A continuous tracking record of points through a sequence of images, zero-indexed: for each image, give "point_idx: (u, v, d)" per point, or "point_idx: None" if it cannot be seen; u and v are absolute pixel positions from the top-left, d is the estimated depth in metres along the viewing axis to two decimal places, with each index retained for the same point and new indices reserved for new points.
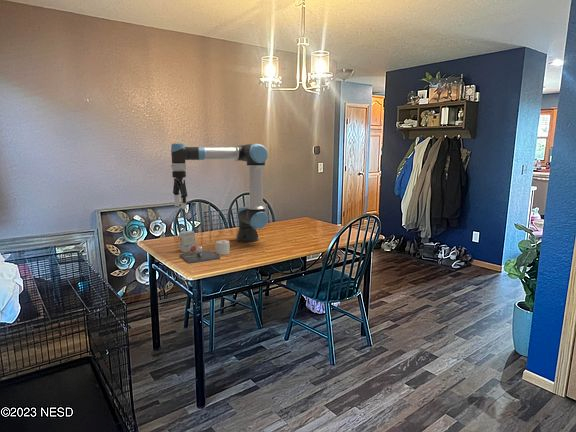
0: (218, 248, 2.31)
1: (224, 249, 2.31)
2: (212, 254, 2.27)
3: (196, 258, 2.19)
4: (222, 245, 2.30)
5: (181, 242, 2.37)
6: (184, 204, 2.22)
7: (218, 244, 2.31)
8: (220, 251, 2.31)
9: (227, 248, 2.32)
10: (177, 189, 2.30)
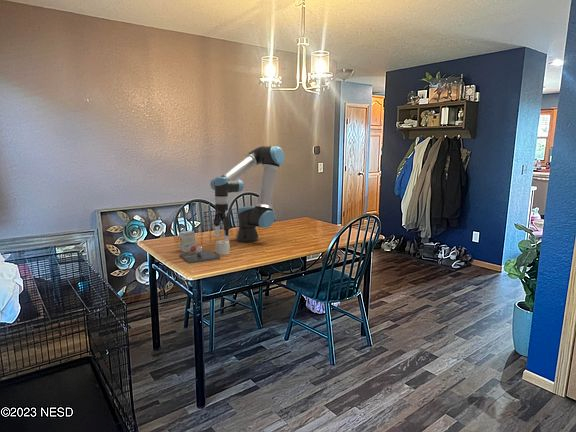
0: (218, 248, 2.31)
1: (224, 249, 2.31)
2: (212, 254, 2.27)
3: (196, 258, 2.19)
4: (222, 245, 2.30)
5: (181, 242, 2.37)
6: (226, 236, 2.27)
7: (218, 244, 2.31)
8: (220, 251, 2.31)
9: (227, 248, 2.32)
10: (218, 221, 2.36)
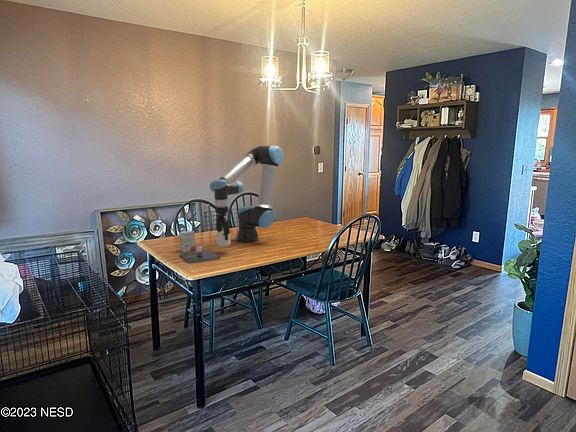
0: (219, 239, 2.31)
1: None
2: (212, 254, 2.27)
3: (196, 258, 2.19)
4: (223, 236, 2.30)
5: (181, 242, 2.37)
6: (226, 241, 2.30)
7: (219, 235, 2.30)
8: (221, 242, 2.30)
9: (228, 239, 2.32)
10: (220, 225, 2.35)
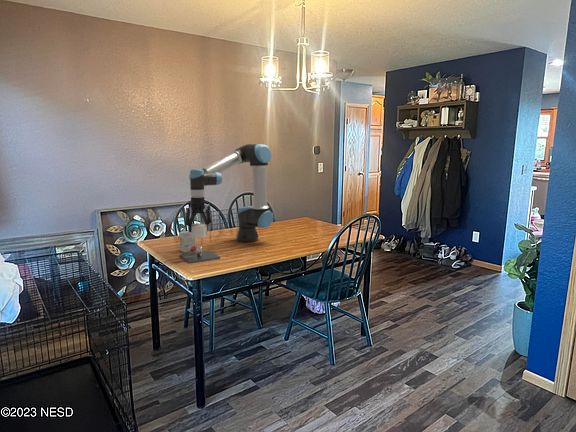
0: None
1: None
2: (212, 254, 2.27)
3: (196, 258, 2.19)
4: None
5: (181, 242, 2.37)
6: (190, 233, 2.20)
7: None
8: None
9: (193, 232, 2.19)
10: (203, 217, 2.24)
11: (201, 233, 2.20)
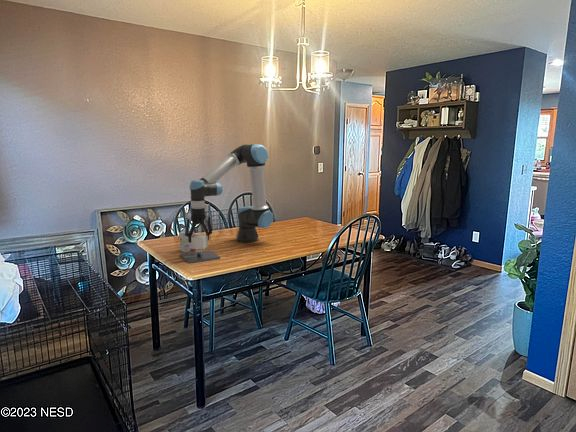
0: None
1: None
2: (212, 254, 2.27)
3: (196, 258, 2.19)
4: None
5: (181, 242, 2.37)
6: (191, 243, 2.21)
7: None
8: None
9: (193, 242, 2.21)
10: (203, 228, 2.24)
11: (201, 244, 2.21)
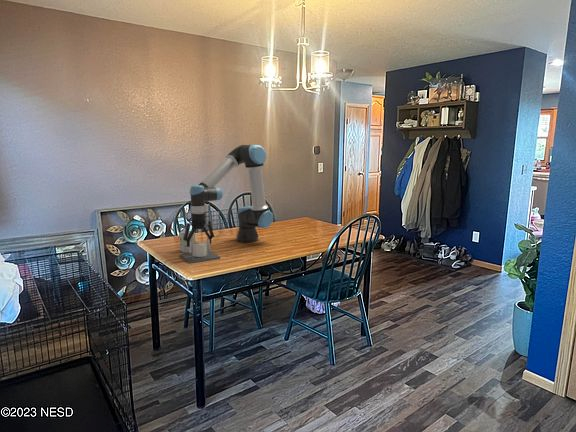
0: None
1: (192, 250, 2.23)
2: (212, 254, 2.27)
3: (196, 258, 2.19)
4: (192, 245, 2.24)
5: (181, 242, 2.37)
6: (189, 248, 2.21)
7: None
8: None
9: (194, 250, 2.22)
10: (205, 232, 2.25)
11: (201, 252, 2.22)
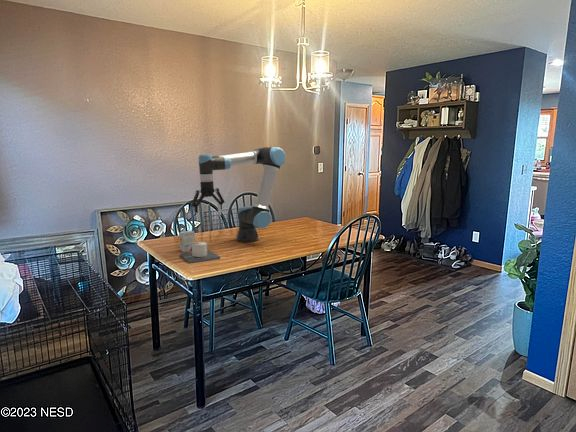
0: None
1: (192, 250, 2.23)
2: (212, 254, 2.27)
3: (196, 258, 2.19)
4: (192, 245, 2.24)
5: (181, 242, 2.37)
6: (197, 214, 2.30)
7: None
8: None
9: (194, 250, 2.22)
10: (215, 199, 2.35)
11: (201, 252, 2.22)
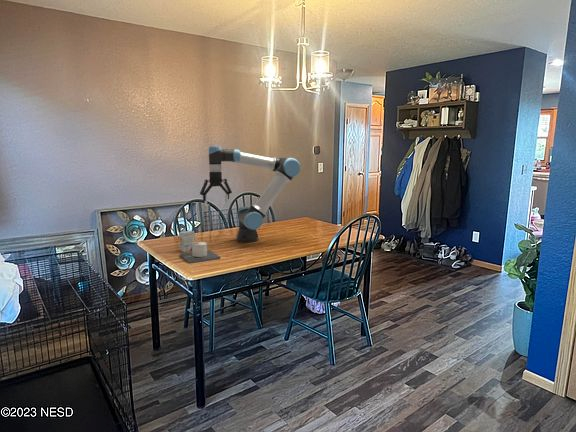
0: None
1: (192, 250, 2.23)
2: (212, 254, 2.27)
3: (196, 258, 2.19)
4: (192, 245, 2.24)
5: (181, 242, 2.37)
6: (205, 202, 2.41)
7: None
8: None
9: (194, 250, 2.22)
10: None
11: (201, 252, 2.22)
